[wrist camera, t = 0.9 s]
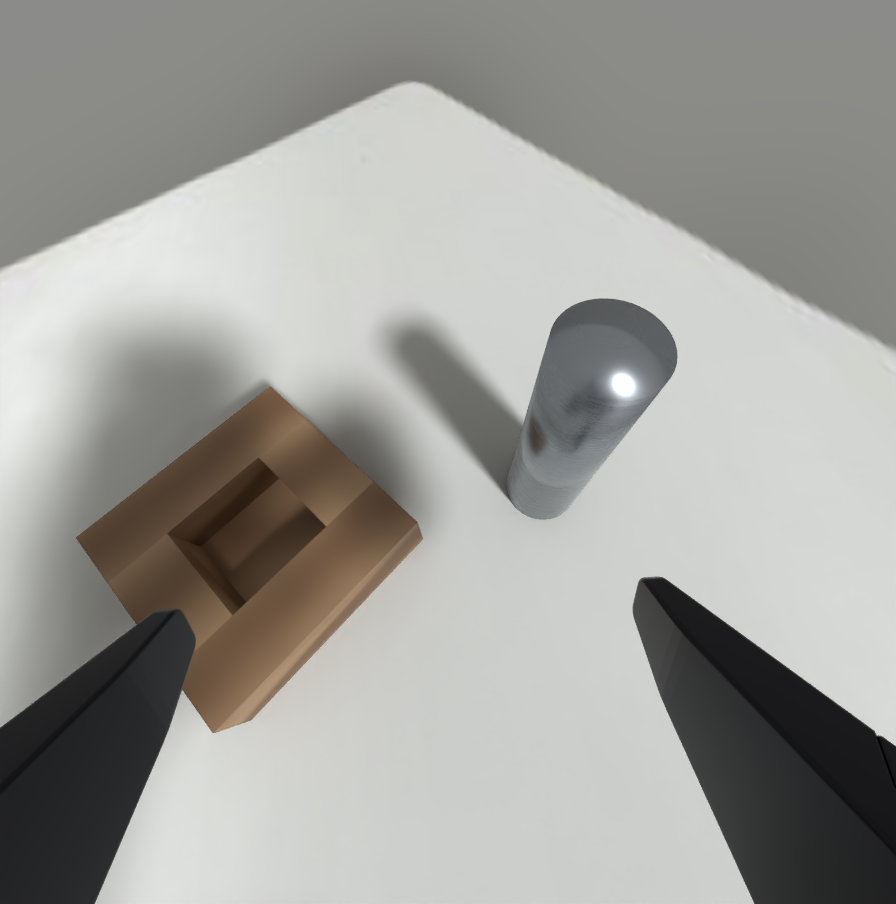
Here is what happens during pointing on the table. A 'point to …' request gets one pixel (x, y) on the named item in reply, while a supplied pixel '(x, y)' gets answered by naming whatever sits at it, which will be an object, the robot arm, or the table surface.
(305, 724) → the table surface
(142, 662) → the robot arm
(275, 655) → the walnut bore block
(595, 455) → the steel pin
